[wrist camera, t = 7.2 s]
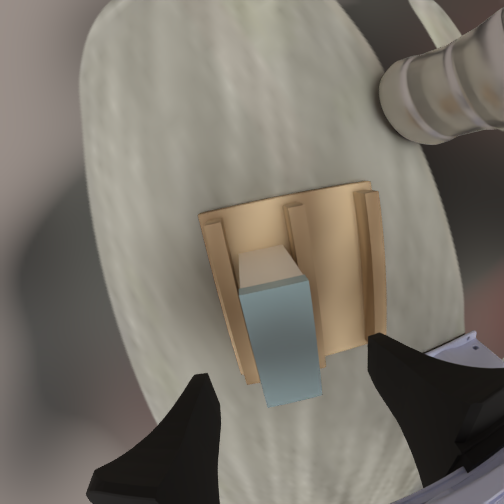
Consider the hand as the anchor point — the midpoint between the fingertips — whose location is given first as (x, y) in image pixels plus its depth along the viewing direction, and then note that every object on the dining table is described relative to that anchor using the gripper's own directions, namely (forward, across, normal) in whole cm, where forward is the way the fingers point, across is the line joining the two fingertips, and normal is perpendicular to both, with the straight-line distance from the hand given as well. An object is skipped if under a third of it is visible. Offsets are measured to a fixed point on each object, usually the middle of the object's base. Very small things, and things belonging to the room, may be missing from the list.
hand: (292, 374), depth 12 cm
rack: (+10, -2, 0) cm, 10 cm away
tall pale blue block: (+9, 0, 0) cm, 9 cm away
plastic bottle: (+10, -14, -12) cm, 21 cm away
